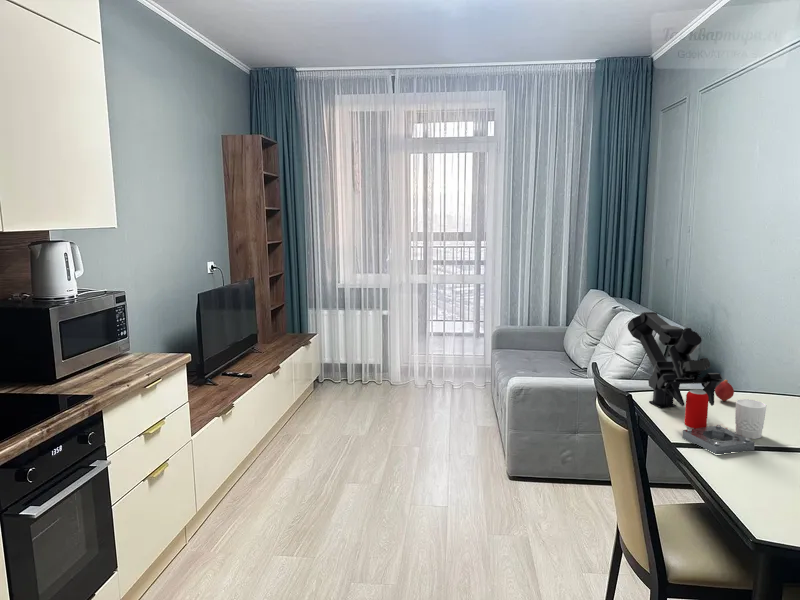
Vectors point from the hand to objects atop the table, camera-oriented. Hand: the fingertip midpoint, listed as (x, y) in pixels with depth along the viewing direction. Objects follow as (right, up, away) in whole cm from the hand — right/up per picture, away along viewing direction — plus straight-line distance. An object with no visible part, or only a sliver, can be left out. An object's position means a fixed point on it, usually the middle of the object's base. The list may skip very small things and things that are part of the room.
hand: (698, 405), depth 175 cm
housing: (0, -9, -10) cm, 14 cm away
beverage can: (0, -8, +2) cm, 8 cm away
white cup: (+13, -8, -4) cm, 16 cm away
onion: (+23, -4, +26) cm, 35 cm away
